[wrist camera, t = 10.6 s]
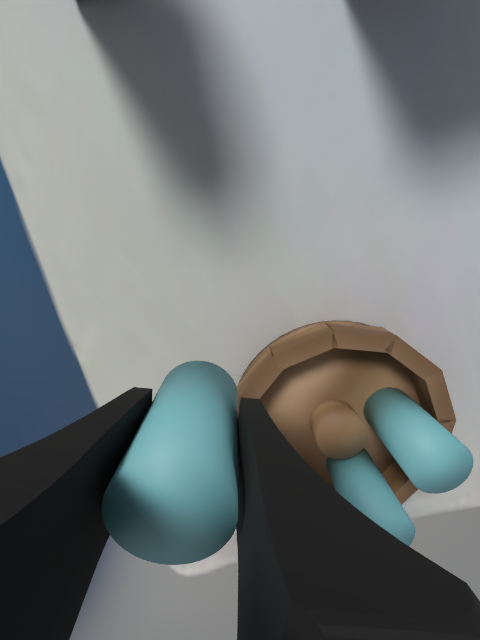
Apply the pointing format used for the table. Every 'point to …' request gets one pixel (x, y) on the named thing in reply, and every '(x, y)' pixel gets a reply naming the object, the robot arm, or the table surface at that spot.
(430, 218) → the table surface
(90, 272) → the table surface
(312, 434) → the groove tray
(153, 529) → the teal egg
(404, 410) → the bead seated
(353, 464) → the teal tapered egg
